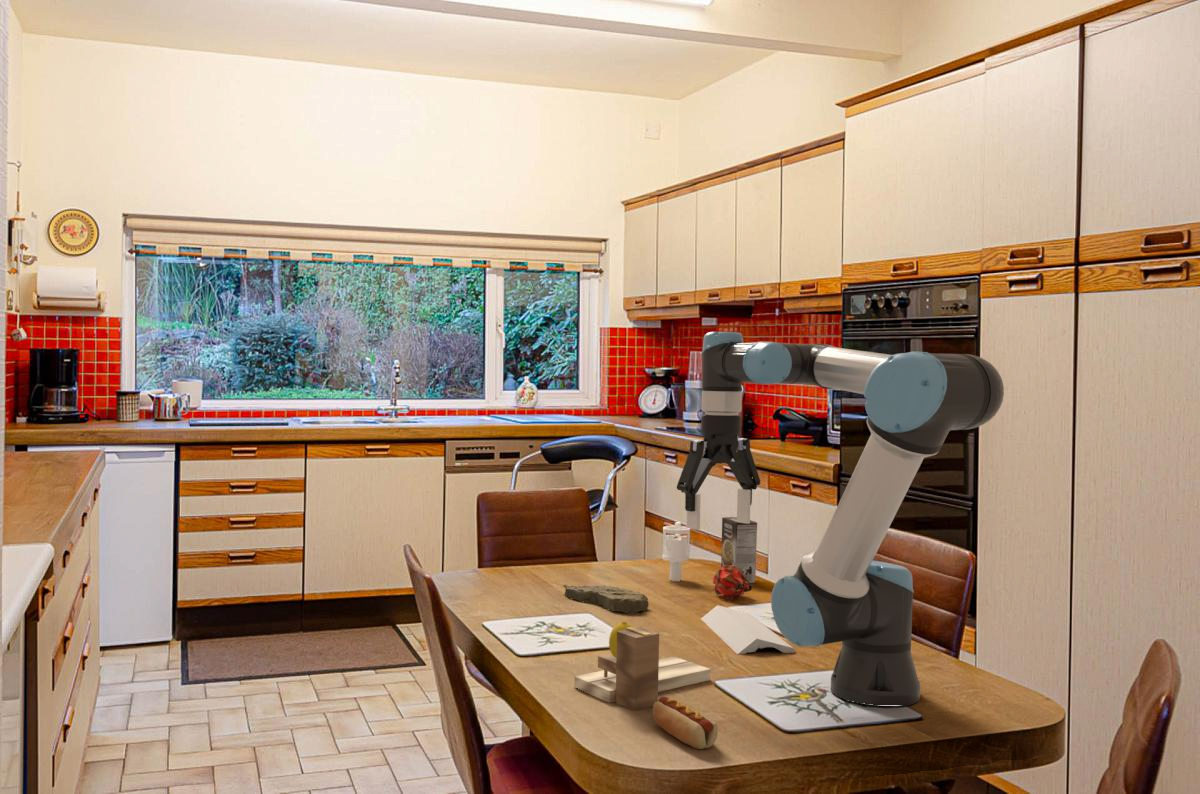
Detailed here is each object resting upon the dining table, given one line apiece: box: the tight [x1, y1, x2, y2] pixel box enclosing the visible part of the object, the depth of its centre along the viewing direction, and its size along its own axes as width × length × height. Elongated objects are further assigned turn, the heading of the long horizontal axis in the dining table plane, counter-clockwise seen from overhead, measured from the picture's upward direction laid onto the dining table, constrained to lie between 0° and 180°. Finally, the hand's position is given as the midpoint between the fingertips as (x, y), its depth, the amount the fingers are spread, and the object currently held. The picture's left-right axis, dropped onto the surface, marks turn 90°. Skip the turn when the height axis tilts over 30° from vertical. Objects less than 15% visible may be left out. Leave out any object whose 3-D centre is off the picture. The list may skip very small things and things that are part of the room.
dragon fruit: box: [712, 565, 753, 601], centre depth 259 cm, size 8×8×12 cm
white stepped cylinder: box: [662, 521, 691, 582], centre depth 278 cm, size 7×7×15 cm
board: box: [574, 656, 712, 704], centre depth 187 cm, size 10×23×2 cm, turn 127°
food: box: [652, 696, 719, 750], centre depth 161 cm, size 14×6×5 cm, turn 28°
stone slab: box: [562, 583, 649, 614], centre depth 251 cm, size 27×12×5 cm, turn 43°
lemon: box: [608, 620, 635, 657], centre depth 200 cm, size 6×6×8 cm
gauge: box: [597, 626, 660, 711], centre depth 179 cm, size 12×5×12 cm, turn 37°
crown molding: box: [700, 604, 797, 655], centre depth 223 cm, size 29×12×4 cm, turn 10°
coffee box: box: [720, 516, 758, 584], centre depth 280 cm, size 9×6×16 cm
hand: (718, 525), depth 200 cm, fingers open, 13 cm apart
